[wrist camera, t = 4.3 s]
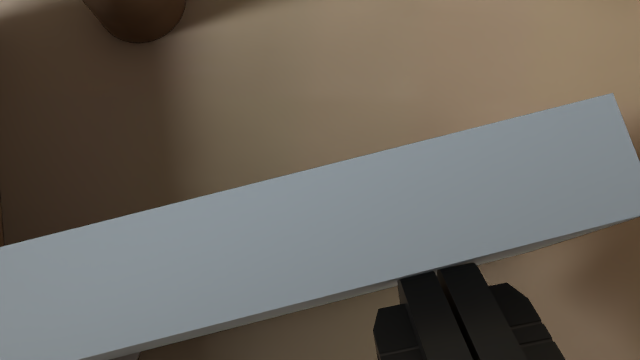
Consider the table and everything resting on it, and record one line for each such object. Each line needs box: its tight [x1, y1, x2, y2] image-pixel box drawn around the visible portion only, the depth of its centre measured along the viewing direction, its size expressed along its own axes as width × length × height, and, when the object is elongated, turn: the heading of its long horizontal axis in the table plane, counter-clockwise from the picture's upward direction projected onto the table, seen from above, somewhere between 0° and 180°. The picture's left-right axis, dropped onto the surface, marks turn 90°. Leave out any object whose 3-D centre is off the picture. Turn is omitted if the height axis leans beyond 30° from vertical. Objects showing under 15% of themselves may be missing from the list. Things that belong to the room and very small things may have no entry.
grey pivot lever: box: [0, 93, 640, 360], centre depth 13 cm, size 15×3×8 cm, turn 104°
